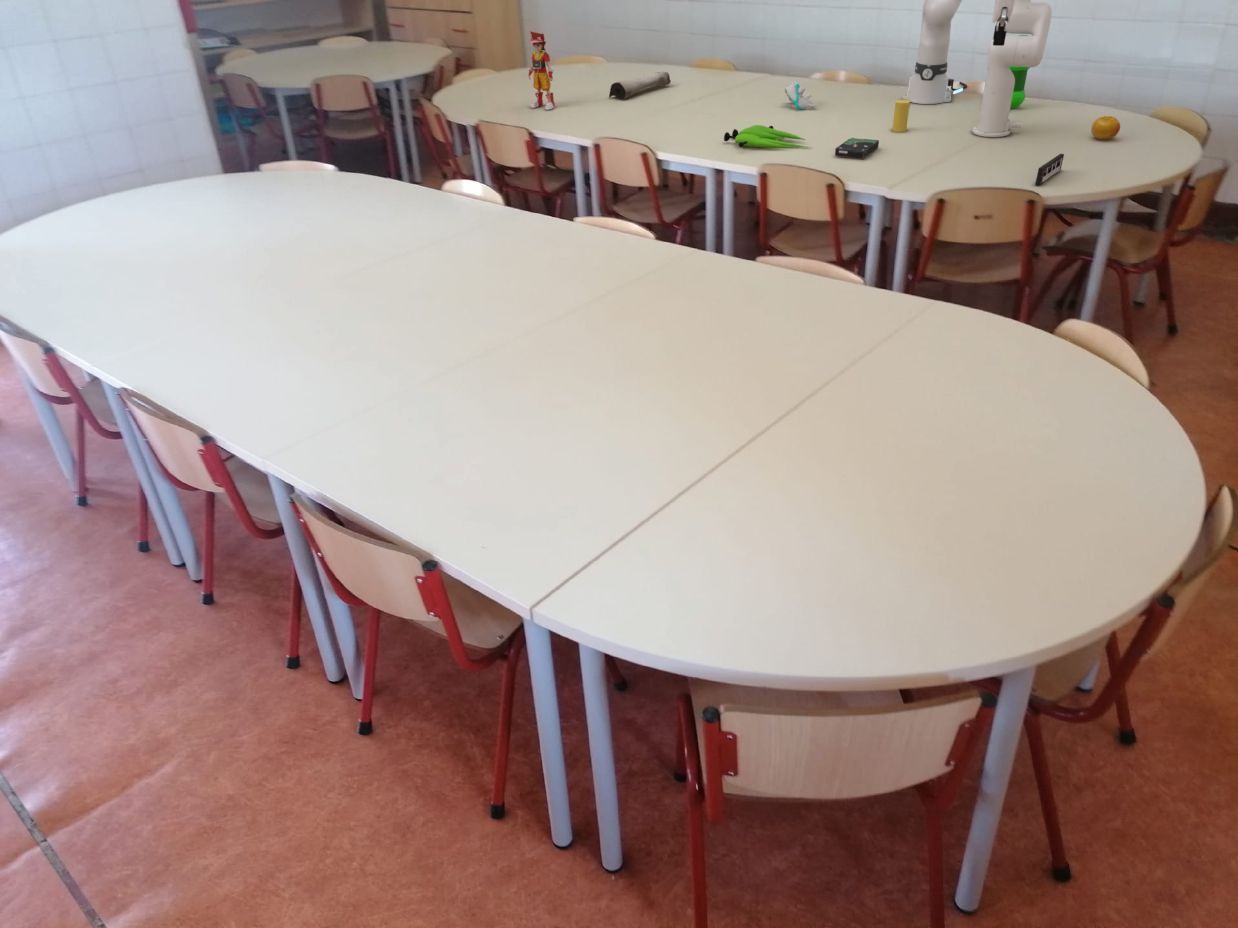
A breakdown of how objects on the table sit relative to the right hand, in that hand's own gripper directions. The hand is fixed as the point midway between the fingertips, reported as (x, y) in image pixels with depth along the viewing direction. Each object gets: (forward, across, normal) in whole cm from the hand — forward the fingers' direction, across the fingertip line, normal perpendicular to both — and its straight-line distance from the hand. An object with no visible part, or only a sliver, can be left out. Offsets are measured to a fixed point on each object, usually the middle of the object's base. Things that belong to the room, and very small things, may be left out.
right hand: (998, 42), depth 275 cm
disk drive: (+35, 0, -39) cm, 53 cm away
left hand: (-3, -80, -63) cm, 102 cm away
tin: (+35, -31, -28) cm, 54 cm away
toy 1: (+35, -47, -176) cm, 186 cm away
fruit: (+35, -29, +40) cm, 60 cm away
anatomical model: (+34, -62, -70) cm, 99 cm away
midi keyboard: (+35, +18, +21) cm, 44 cm away
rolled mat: (+34, -78, -143) cm, 166 cm away
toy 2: (+35, -6, -71) cm, 79 cm away
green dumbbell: (+34, -69, +10) cm, 78 cm away
